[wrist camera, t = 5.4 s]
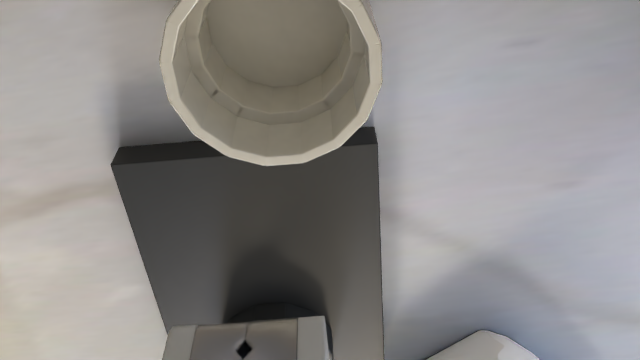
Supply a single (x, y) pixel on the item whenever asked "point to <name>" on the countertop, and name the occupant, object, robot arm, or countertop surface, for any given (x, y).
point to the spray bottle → (485, 349)
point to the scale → (261, 237)
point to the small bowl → (272, 74)
